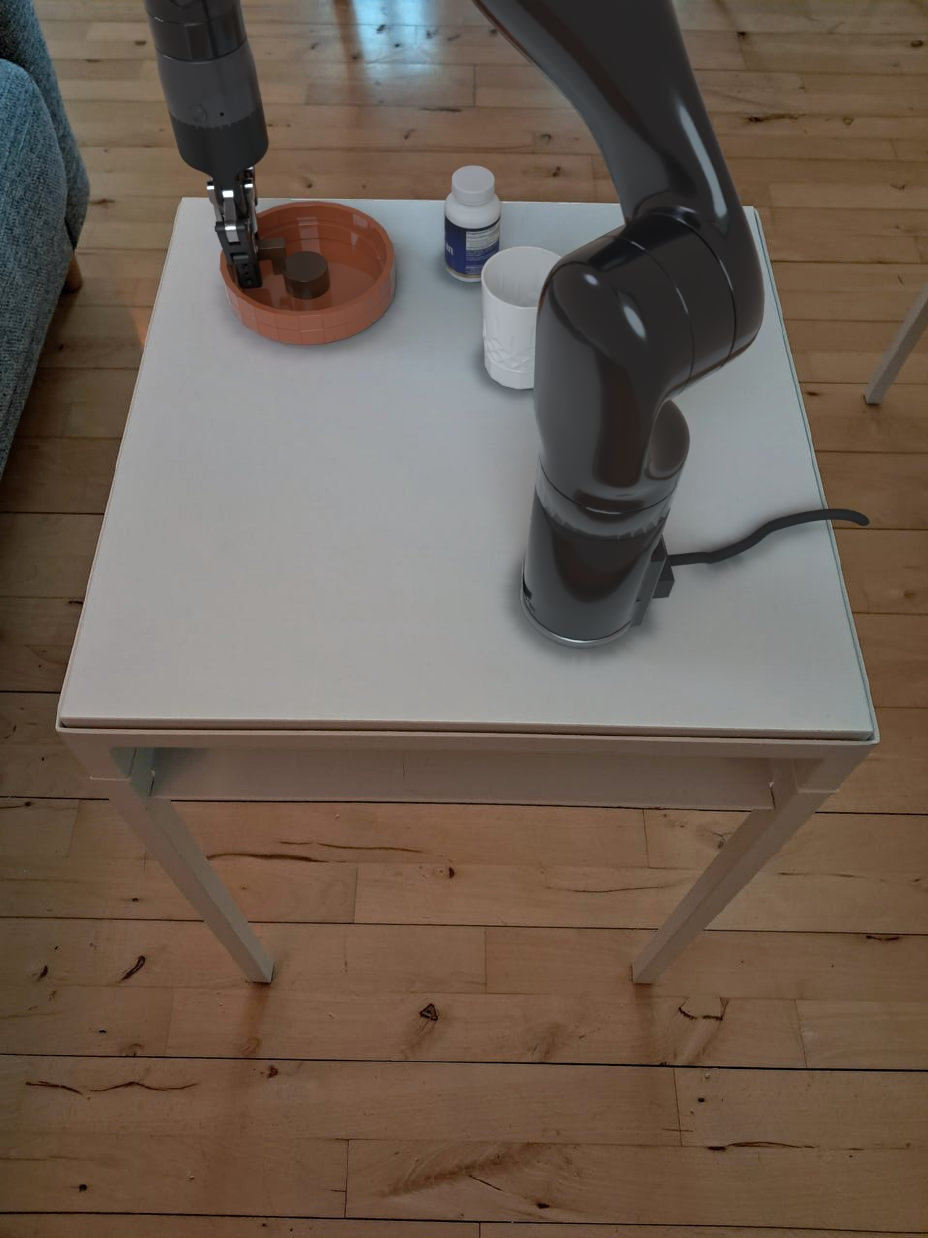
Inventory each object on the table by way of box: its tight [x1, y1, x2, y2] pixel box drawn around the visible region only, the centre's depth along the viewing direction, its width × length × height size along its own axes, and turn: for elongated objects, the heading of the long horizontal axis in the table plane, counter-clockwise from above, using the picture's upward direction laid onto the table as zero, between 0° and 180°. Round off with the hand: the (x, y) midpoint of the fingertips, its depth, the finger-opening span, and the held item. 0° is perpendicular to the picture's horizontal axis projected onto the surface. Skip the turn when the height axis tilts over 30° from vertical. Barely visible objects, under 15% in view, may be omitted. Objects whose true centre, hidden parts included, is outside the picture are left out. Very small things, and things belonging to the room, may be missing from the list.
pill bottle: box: [443, 165, 502, 283], centre depth 91 cm, size 5×5×10 cm
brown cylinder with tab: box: [227, 237, 330, 300], centre depth 90 cm, size 9×4×5 cm, turn 97°
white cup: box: [480, 245, 563, 390], centre depth 84 cm, size 8×8×10 cm
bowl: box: [219, 200, 397, 346], centre depth 91 cm, size 16×16×4 cm
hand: (251, 271), depth 90 cm, fingers open, 3 cm apart
